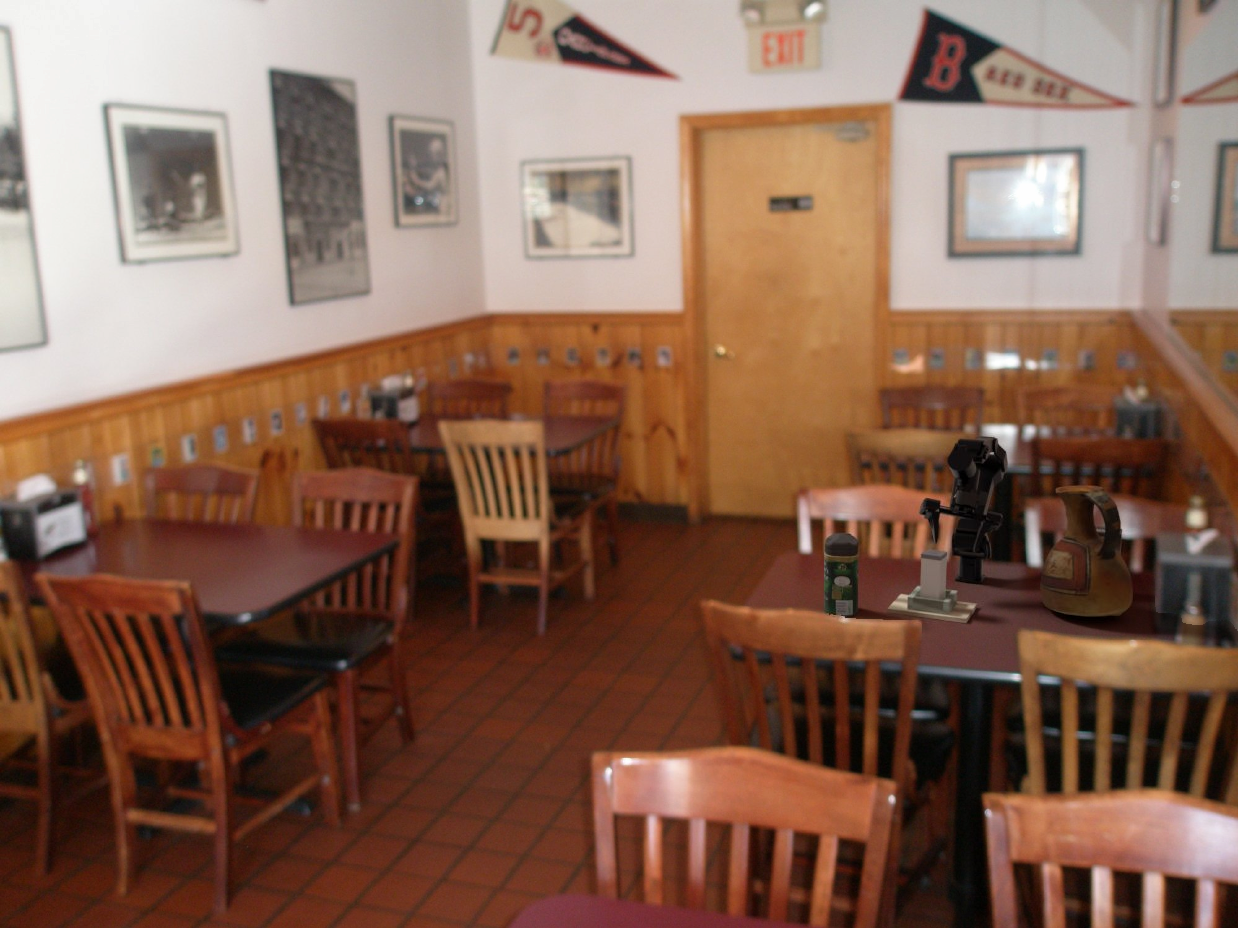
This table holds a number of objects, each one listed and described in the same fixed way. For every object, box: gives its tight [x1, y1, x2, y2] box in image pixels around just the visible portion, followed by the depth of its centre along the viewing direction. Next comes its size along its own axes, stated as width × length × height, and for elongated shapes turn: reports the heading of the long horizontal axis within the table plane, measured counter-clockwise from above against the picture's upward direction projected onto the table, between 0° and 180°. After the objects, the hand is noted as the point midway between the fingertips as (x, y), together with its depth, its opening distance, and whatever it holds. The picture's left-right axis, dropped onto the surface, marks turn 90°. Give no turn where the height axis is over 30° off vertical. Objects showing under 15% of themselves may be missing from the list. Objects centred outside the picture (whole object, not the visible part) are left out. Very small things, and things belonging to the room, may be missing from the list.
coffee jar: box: [823, 532, 860, 618], centre depth 266 cm, size 10×8×19 cm
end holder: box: [886, 585, 978, 624], centre depth 267 cm, size 12×18×4 cm, turn 62°
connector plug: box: [919, 548, 948, 600], centre depth 266 cm, size 5×5×13 cm
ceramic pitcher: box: [1039, 484, 1134, 618], centre depth 260 cm, size 20×20×30 cm
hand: (955, 547), depth 272 cm, fingers open, 9 cm apart
